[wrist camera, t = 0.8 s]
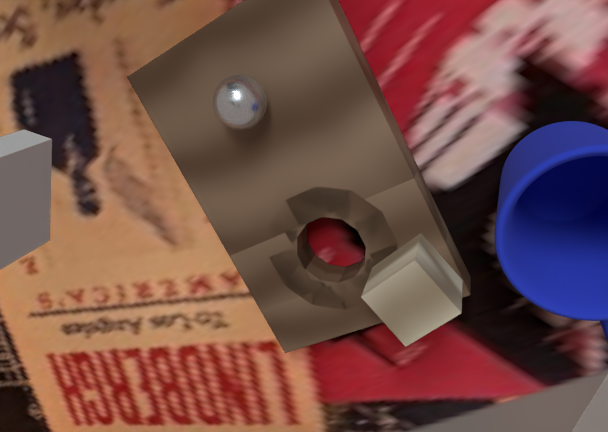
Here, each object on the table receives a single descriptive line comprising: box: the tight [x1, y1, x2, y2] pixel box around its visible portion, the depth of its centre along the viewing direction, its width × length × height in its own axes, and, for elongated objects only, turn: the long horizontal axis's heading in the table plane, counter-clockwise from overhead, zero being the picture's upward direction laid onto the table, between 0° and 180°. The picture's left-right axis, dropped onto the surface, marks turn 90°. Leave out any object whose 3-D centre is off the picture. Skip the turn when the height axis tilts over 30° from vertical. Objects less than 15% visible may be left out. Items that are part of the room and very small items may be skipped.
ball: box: [213, 75, 267, 130], centre depth 32 cm, size 3×3×3 cm
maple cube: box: [361, 233, 463, 347], centre depth 32 cm, size 4×4×4 cm
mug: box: [495, 121, 608, 341], centre depth 28 cm, size 8×12×10 cm
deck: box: [127, 0, 471, 353], centre depth 36 cm, size 22×14×2 cm, turn 29°
